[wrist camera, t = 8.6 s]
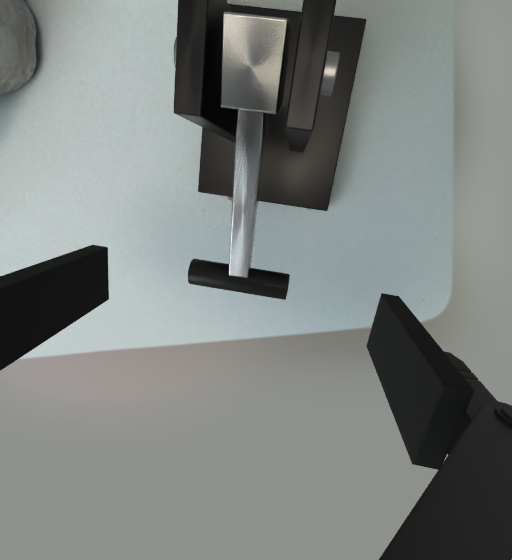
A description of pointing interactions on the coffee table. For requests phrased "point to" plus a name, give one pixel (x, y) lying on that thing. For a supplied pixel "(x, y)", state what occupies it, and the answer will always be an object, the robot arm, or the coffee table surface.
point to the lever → (248, 143)
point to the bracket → (295, 108)
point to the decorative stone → (16, 45)
